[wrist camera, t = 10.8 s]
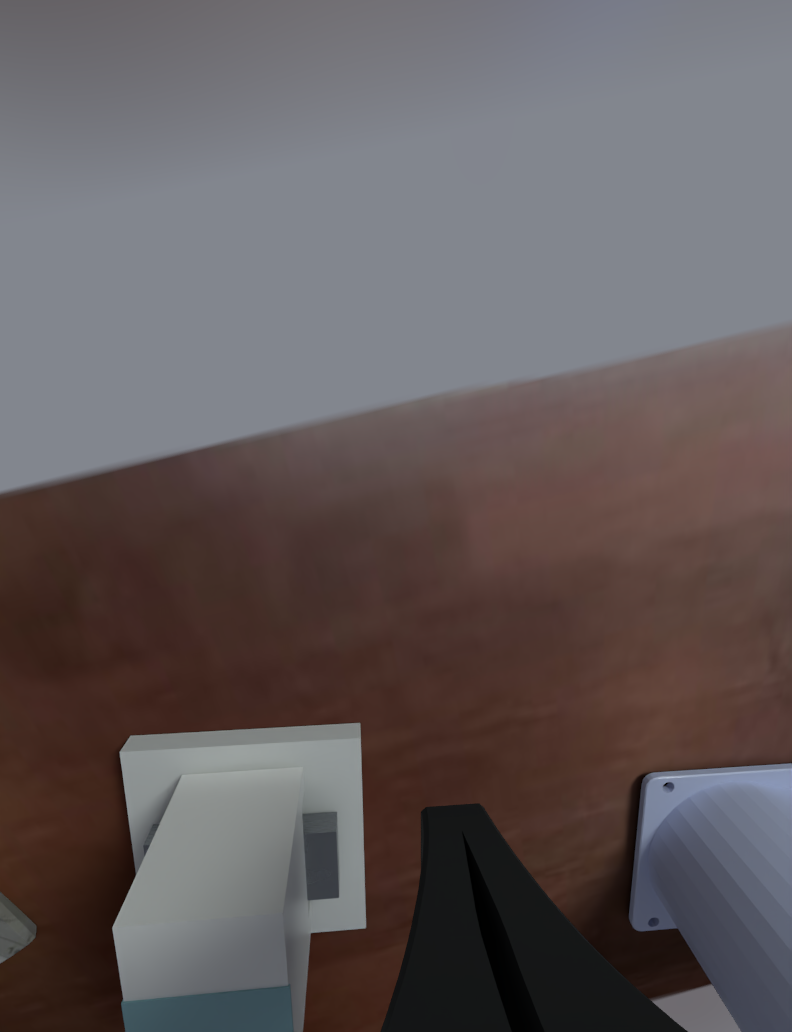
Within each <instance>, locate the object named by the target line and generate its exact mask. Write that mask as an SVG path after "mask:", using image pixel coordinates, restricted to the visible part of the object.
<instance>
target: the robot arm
mask: <svg viewBox="0 0 792 1032" xmlns="http://www.w3.org/2000/svg"><path fill="white" fill-rule="evenodd" d="M665 783H668V784H667V785H666V786H663V785H664V784H665ZM629 921H630V923H631V925H632V927H633V928H634V929H635V930H637V931H651V930H663V929H674V928H678V930H679V931H680V933H681V935H682V936H683V938H684V939H685V941H686V943H687V944H688V946H689V947H690V949H691V951H692V952H693V954H694V956H695V957H696V959H697V960H698V962H699V964H700V965H701V967H702V969H703V970H704V972H705V973H706V975H707V977H708V978H709V980H710V981H711V983H712V985H713V986H714V988H715V989H716V991H717V993H718V994H719V996H720V998H721V999H722V1001H723V1002H724V1004H725V1006H726V1007H727V1009H728V1011H729V1012H730V1014H731V1015H732V1017H733V1018H734V1020H735V1022H736V1023H737V1025H738V1027H739V1028H740V1030H741V1032H792V763H789V764H774V765H759V766H744V767H729V768H714V769H699V770H684V771H669V772H654V773H650V774H648V775H646V776H645V777H644V779H643V781H642V784H641V795H640V805H639V815H638V826H637V836H636V846H635V857H634V867H633V877H632V887H631V898H630V908H629ZM381 1032H687V1031H686V1030H685V1029H684V1028H682V1027H681V1026H680V1025H679V1024H677V1023H676V1022H675V1021H674V1020H673V1019H671V1018H670V1017H669V1016H668V1015H667V1014H666V1013H665V1012H663V1011H662V1010H661V1009H660V1008H659V1007H657V1006H656V1005H655V1004H654V1003H653V1002H652V1001H651V1000H649V999H648V998H647V997H646V996H645V995H644V994H642V993H641V992H640V991H639V990H638V989H637V988H635V987H634V986H633V985H632V984H631V983H630V982H629V981H628V980H627V979H626V978H625V977H624V976H623V975H622V974H620V973H619V972H618V971H617V970H616V969H615V968H614V967H613V966H612V965H611V964H610V963H609V962H608V961H607V960H606V959H605V958H604V957H603V956H602V955H601V954H600V953H599V952H598V951H597V950H596V949H595V948H594V947H593V946H592V945H591V944H590V943H589V942H588V941H587V940H586V939H585V938H584V937H583V936H582V934H581V933H580V932H579V931H578V930H577V929H576V928H575V927H574V926H573V925H572V924H571V922H570V921H569V920H568V919H567V918H566V917H565V916H564V915H563V913H562V912H561V911H560V910H559V909H558V908H557V906H556V905H555V904H554V903H553V902H552V901H551V899H550V898H549V897H548V896H547V895H546V893H545V892H544V891H543V890H542V888H541V887H540V886H539V885H538V883H537V882H536V881H535V880H534V878H533V877H532V876H531V874H530V873H529V872H528V871H527V869H526V868H525V867H524V865H523V864H522V863H521V862H520V860H519V859H518V857H517V856H516V855H515V853H514V852H513V851H512V849H511V848H510V846H509V845H508V844H507V842H506V841H505V839H504V838H503V837H502V835H501V834H500V832H499V831H498V829H497V828H496V826H495V825H494V823H493V822H492V820H491V818H490V817H489V815H488V814H487V812H486V811H485V809H484V807H482V806H481V805H480V804H465V805H450V806H436V807H426V808H425V809H424V810H423V811H422V812H421V875H420V882H419V890H418V896H417V901H416V906H415V911H414V916H413V921H412V926H411V930H410V935H409V939H408V943H407V947H406V951H405V955H404V959H403V962H402V966H401V970H400V973H399V977H398V980H397V983H396V986H395V990H394V993H393V996H392V999H391V1002H390V1006H389V1009H388V1012H387V1015H386V1018H385V1021H384V1024H383V1026H382V1029H381Z"/></svg>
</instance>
